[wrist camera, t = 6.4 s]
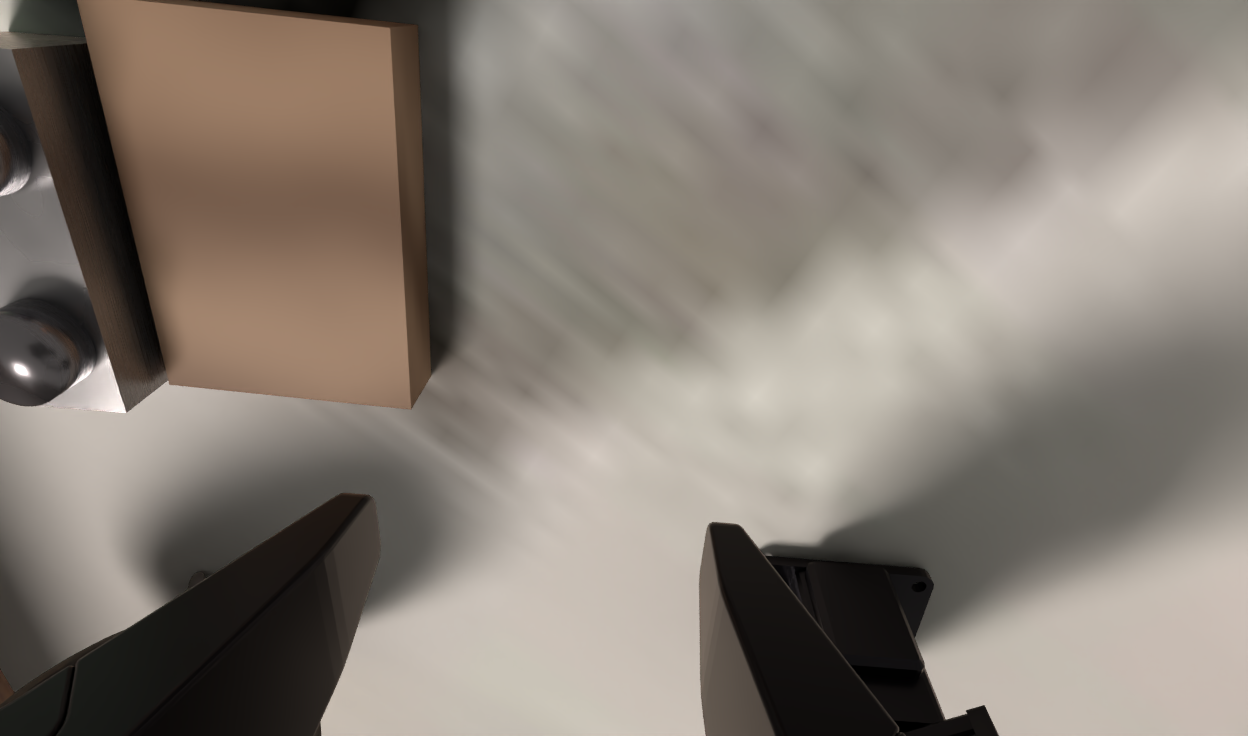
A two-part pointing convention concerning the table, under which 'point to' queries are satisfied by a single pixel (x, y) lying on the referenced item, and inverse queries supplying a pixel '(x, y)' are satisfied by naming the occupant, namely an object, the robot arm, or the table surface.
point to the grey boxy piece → (66, 240)
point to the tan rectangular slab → (272, 193)
